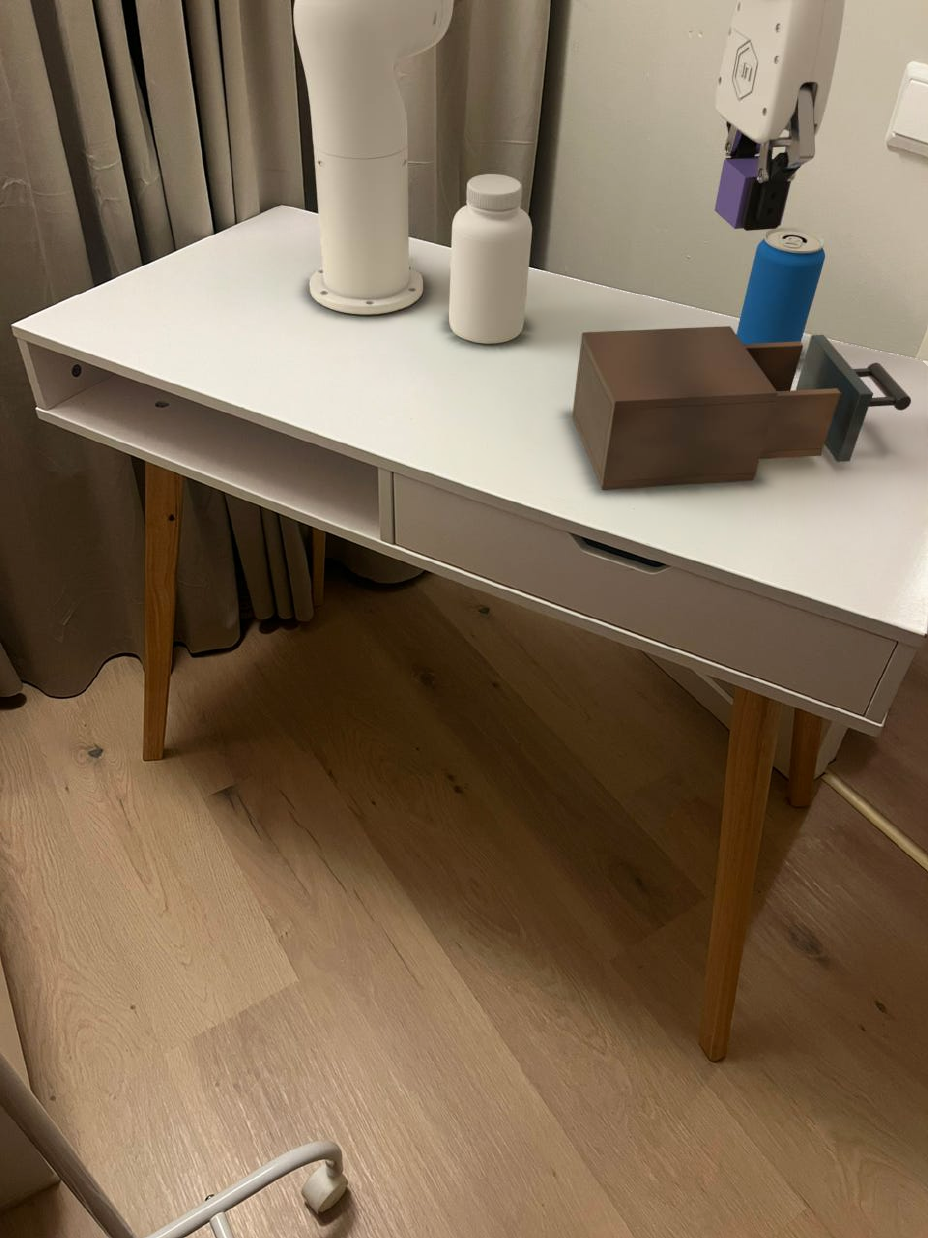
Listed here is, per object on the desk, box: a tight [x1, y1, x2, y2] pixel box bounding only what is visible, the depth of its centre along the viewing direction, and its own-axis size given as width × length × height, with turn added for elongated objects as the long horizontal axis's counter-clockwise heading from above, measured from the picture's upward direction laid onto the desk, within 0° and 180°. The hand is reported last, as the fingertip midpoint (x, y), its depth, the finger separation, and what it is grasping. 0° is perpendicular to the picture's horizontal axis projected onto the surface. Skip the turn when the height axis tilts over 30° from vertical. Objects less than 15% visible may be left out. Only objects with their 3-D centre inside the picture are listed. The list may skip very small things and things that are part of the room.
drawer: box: [743, 334, 912, 463], centre depth 88 cm, size 18×10×7 cm, turn 98°
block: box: [714, 158, 792, 230], centre depth 83 cm, size 4×4×4 cm
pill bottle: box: [448, 173, 533, 344], centre depth 100 cm, size 8×8×15 cm
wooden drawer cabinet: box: [571, 325, 778, 490], centre depth 87 cm, size 14×12×9 cm
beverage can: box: [735, 226, 826, 344], centre depth 99 cm, size 6×6×12 cm
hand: (747, 214), depth 84 cm, fingers closed on block, 4 cm apart
